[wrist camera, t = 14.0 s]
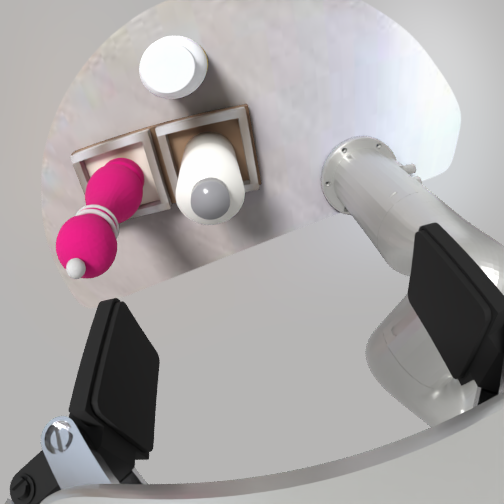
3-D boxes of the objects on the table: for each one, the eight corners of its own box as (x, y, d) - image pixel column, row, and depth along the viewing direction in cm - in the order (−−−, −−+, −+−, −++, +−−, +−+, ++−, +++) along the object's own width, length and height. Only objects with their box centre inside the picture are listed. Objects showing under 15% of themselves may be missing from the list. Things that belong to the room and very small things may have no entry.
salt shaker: (229, 126, 38) (239, 161, 27) (238, 173, 42) (252, 225, 31) (177, 138, 38) (165, 178, 27) (190, 184, 42) (184, 239, 31)
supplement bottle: (212, 42, 33) (214, 37, 22) (202, 92, 36) (200, 108, 26) (158, 37, 31) (137, 30, 21) (150, 87, 35) (126, 102, 25)
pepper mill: (154, 196, 42) (126, 299, 26) (107, 208, 42) (60, 311, 26) (139, 147, 38) (90, 228, 21) (90, 162, 38) (22, 248, 21)
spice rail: (246, 104, 38) (249, 107, 36) (259, 180, 44) (263, 188, 42) (75, 151, 38) (67, 158, 35) (101, 217, 44) (95, 228, 42)
